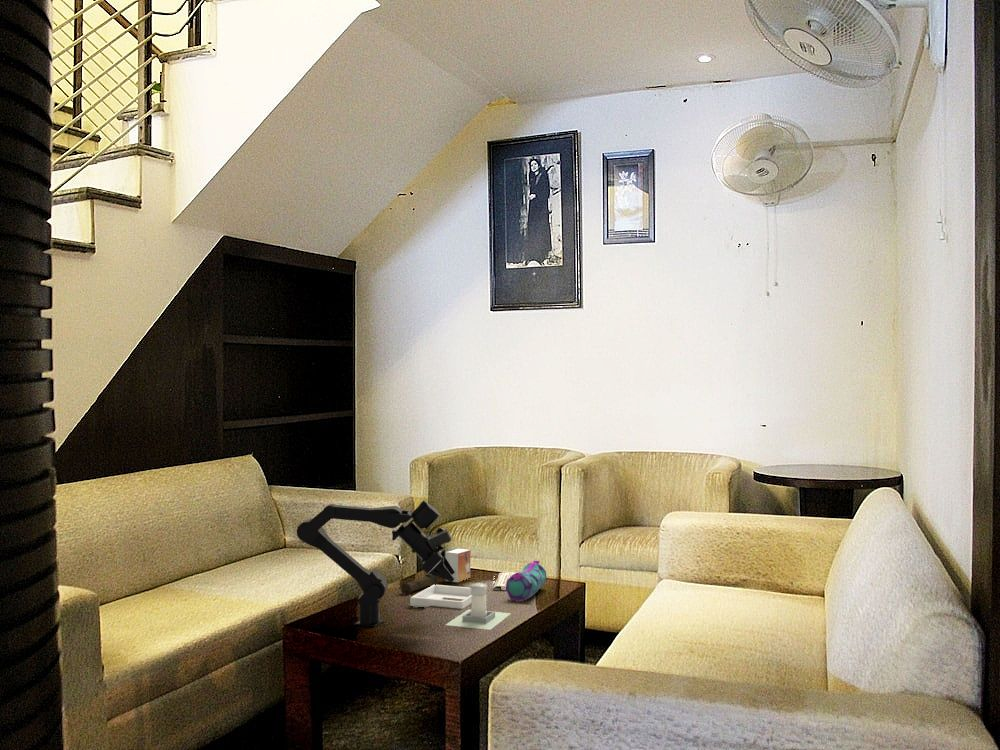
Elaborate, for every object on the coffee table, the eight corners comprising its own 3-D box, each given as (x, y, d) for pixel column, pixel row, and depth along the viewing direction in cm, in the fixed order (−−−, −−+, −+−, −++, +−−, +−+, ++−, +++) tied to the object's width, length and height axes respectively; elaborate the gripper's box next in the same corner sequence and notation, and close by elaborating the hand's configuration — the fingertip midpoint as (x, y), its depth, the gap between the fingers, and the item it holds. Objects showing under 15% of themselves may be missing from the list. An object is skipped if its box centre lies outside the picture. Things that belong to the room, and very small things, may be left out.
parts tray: (462, 611, 263) (462, 602, 263) (410, 606, 269) (410, 597, 269) (483, 597, 280) (483, 588, 280) (433, 593, 286) (433, 584, 286)
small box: (457, 583, 301) (457, 553, 301) (445, 581, 304) (445, 551, 304) (470, 578, 308) (470, 549, 308) (458, 576, 311) (458, 548, 311)
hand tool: (409, 595, 284) (409, 582, 284) (400, 594, 286) (400, 580, 286) (444, 584, 300) (444, 571, 300) (435, 583, 302) (435, 570, 302)
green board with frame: (490, 633, 241) (490, 624, 241) (445, 628, 245) (445, 619, 245) (511, 616, 258) (511, 608, 258) (468, 612, 262) (468, 604, 262)
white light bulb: (483, 621, 248) (483, 587, 249) (468, 620, 250) (468, 586, 250) (489, 617, 253) (489, 584, 253) (474, 616, 255) (474, 582, 255)
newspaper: (494, 577, 312) (494, 570, 312) (527, 581, 311) (527, 574, 311) (487, 592, 290) (488, 584, 290) (522, 596, 288) (523, 589, 288)
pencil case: (531, 603, 273) (531, 574, 273) (505, 601, 276) (505, 572, 276) (547, 588, 293) (547, 561, 293) (522, 587, 295) (522, 559, 295)
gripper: (434, 525, 242) (472, 564, 242) (436, 515, 261) (472, 551, 261) (406, 553, 242) (445, 592, 242) (411, 541, 260) (446, 577, 261)
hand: (453, 576), depth 251 cm, fingers open, 9 cm apart
